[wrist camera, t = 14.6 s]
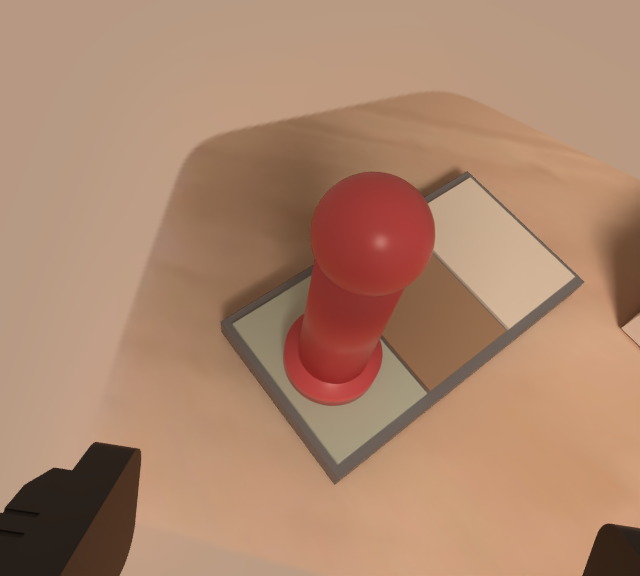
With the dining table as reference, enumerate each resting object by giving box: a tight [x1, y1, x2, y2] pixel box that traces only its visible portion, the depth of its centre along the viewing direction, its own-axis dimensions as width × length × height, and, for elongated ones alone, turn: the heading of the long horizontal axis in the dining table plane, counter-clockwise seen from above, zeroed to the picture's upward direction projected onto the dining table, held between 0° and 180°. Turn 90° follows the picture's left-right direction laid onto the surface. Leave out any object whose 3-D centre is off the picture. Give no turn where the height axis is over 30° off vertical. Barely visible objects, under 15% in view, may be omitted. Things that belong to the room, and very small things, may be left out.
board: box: [221, 171, 584, 484], centre depth 29 cm, size 17×9×1 cm, turn 128°
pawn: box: [283, 172, 435, 406], centre depth 21 cm, size 4×4×12 cm
